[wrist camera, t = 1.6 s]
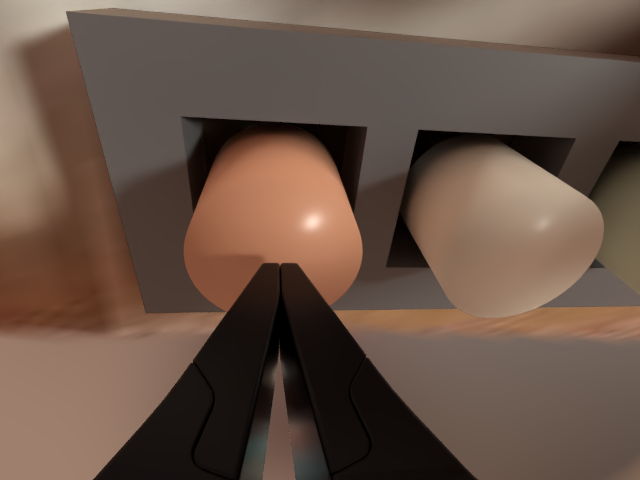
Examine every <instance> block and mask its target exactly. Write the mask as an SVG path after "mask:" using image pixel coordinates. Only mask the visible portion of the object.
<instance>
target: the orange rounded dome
mask: <svg viewBox="0 0 640 480" xmlns="http://www.w3.org/2000/svg"><path fill="white" fill-rule="evenodd" d="M362 254H363V249H362V240H361V235H360V232H359V229H358V226H357V223H356V220H355V218H354V215H353V212H352V209H351V206H350V204H349V201H348V198H347V195H346V192H345V189H344V187H343V184H342V181H341V178H340V175H339V173H338V170H337V167H336V164H335V162H334V159H333V157H332V155H331V154H330V152H329V151H328V149H327V148H326V147H325V145H324V144H323V143H322V142H321V141H320V140H319V139H317V138H316V137H315V136H313V135H312V134H311V133H309V132H307V131H305V130H304V129H301V128H299V127H296V126H293V125H289V124H284V123H263V124H257V125H254V126H250V127H248V128H245V129H243V130H241V131H239V132H238V133H236V134H235V135H233V136H232V137H231V138H230V139H228V140H227V141H226V142H225V144H224V145H223V146H222V147H221V149H220V150H219V152H218V153H217V155H216V157H215V159H214V162H213V164H212V167H211V170H210V172H209V175H208V177H207V180H206V183H205V185H204V188H203V191H202V193H201V196H200V198H199V201H198V204H197V206H196V209H195V212H194V214H193V217H192V219H191V222H190V225H189V227H188V230H187V233H186V237H185V241H184V261H185V265H186V269H187V272H188V274H189V276H190V279H191V280H192V282H193V283H194V285H195V287H196V288H197V289H198V290H199V291H200V293H201V294H202V295H203V296H204V297H206V298H207V299H208V300H209V301H210V302H212V303H213V304H214V305H216V306H217V307H219V308H221V309H222V310H224V311H226V312H228V311H229V309H230V308H231V306H232V305H233V304H234V302H235V301H236V299H237V298H238V297H239V295H240V294H241V292H242V291H243V290H244V288H245V287H246V285H247V284H248V283H249V281H250V280H251V278H252V277H253V276H254V274H255V273H256V271H257V270H258V269H259V267H260V266H261V265H262V264H263V263H279V264H280V265H281V263H297V264H298V265H299V266H300V267H301V269H302V270H303V271H304V273H305V274H306V275H307V277H308V278H309V279H310V281H311V282H312V283H313V285H314V286H315V287H316V289H317V290H318V291H319V293H320V294H321V295H322V297H323V298H324V299H325V301H326V302H327V303H328V305H329V306H330V305H332V304H333V303H334V302H335V301H337V300H338V299H339V298H340V297H341V296H342V295H343V294H344V293H345V292H346V291H347V290H348V289H349V288H350V286H351V285H352V283H353V282H354V280H355V278H356V276H357V274H358V272H359V269H360V265H361V262H362Z"/></svg>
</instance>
